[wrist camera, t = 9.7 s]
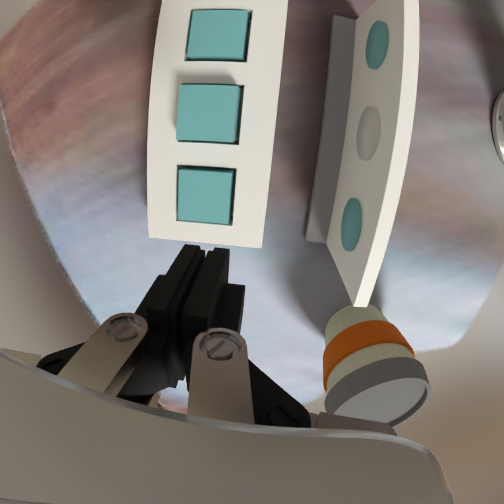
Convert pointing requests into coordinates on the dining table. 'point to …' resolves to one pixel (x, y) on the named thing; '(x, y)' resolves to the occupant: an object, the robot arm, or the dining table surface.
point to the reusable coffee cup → (371, 368)
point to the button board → (212, 152)
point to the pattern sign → (365, 139)
